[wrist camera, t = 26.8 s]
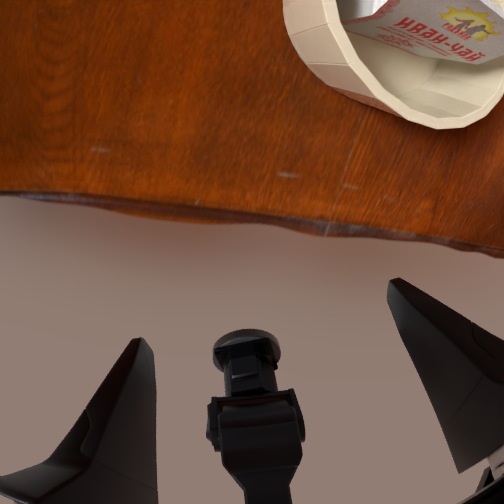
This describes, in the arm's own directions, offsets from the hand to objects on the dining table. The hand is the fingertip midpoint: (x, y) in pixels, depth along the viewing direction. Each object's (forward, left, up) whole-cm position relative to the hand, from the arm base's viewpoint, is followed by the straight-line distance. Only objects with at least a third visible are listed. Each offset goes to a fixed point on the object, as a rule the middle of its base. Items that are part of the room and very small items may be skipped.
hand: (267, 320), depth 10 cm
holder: (+10, -11, -12) cm, 19 cm away
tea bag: (+10, -11, -12) cm, 19 cm away
